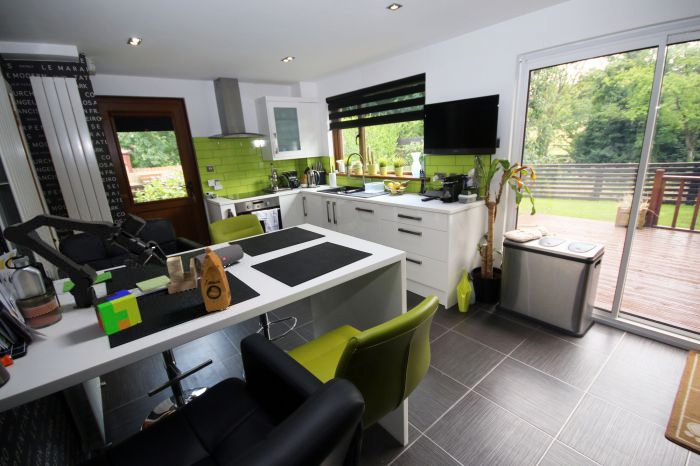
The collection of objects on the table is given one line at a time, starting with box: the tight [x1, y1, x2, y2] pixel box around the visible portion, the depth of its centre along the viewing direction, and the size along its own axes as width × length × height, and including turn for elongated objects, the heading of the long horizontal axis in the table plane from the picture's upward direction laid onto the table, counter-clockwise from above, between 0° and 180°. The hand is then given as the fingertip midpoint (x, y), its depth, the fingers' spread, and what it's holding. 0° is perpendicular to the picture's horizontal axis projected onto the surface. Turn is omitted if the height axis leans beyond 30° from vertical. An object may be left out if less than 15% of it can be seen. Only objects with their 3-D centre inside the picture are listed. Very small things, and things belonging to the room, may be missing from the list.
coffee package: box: [200, 246, 232, 313], centre depth 118 cm, size 10×12×22 cm
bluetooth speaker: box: [193, 243, 245, 274], centre depth 159 cm, size 23×9×10 cm, turn 143°
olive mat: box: [135, 274, 170, 293], centre depth 144 cm, size 12×12×1 cm
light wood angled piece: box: [166, 257, 198, 295], centre depth 139 cm, size 11×13×10 cm
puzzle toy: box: [92, 289, 143, 336], centre depth 110 cm, size 10×10×10 cm
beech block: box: [166, 255, 185, 284], centre depth 138 cm, size 5×5×11 cm
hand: (166, 263), depth 136 cm, fingers open, 9 cm apart
